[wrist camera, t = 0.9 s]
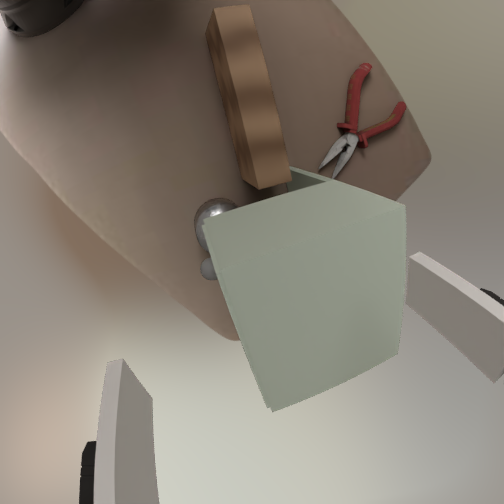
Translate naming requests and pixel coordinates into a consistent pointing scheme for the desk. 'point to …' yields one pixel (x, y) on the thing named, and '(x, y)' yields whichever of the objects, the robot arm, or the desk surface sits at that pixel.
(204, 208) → the silver metal dome
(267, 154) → the brown wooden block
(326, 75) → the desk surface
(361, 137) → the pliers
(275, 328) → the green bedside cabinet
